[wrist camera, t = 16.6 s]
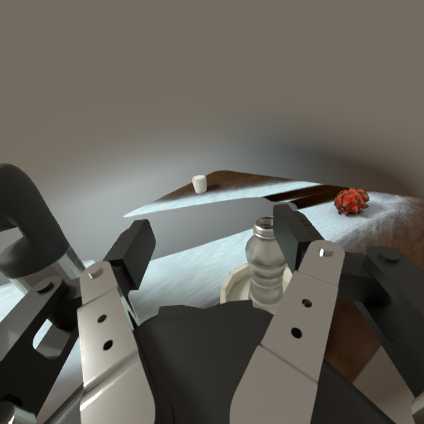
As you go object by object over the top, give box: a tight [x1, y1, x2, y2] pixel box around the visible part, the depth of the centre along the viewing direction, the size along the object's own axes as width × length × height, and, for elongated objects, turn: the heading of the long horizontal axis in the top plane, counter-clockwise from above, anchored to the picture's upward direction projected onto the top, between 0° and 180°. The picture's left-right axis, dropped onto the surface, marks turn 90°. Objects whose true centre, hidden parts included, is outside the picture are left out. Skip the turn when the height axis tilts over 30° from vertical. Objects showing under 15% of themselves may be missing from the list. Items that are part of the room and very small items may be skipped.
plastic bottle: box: [245, 216, 287, 314], centre depth 31 cm, size 6×7×20 cm
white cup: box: [192, 175, 207, 193], centre depth 90 cm, size 7×7×7 cm
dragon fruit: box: [334, 188, 369, 215], centre depth 59 cm, size 8×8×12 cm
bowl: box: [220, 263, 292, 304], centre depth 36 cm, size 17×17×4 cm
